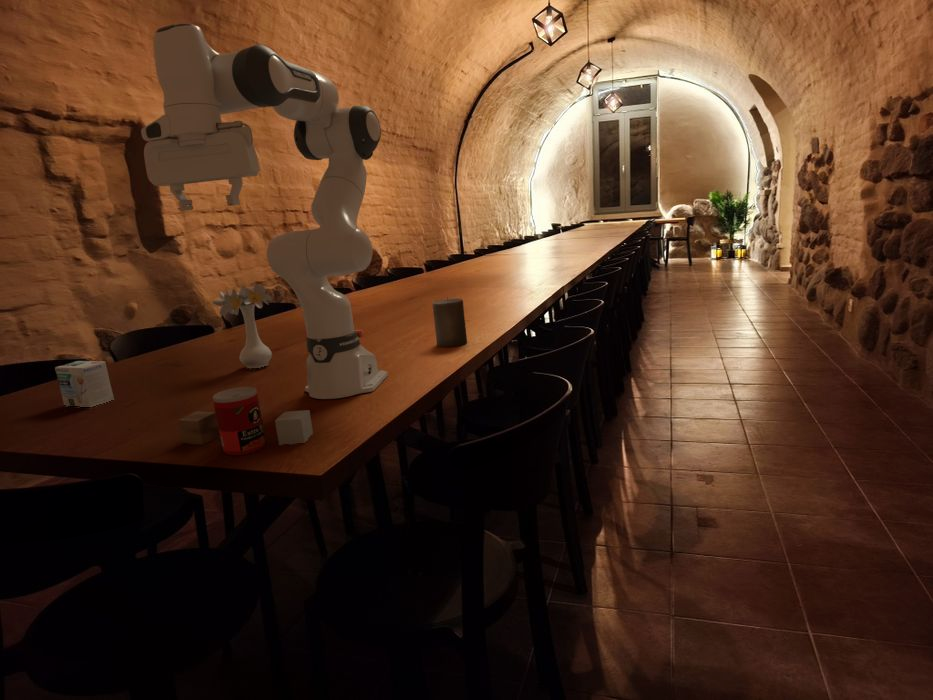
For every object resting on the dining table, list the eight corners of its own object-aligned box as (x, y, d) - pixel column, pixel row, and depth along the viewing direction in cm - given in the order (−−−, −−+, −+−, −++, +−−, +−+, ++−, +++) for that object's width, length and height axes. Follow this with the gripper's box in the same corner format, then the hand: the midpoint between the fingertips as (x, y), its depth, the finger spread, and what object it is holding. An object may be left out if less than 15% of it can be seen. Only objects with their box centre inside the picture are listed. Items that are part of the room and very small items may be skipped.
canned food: (247, 457, 105) (236, 400, 103) (213, 454, 108) (202, 398, 106) (275, 441, 112) (265, 387, 110) (242, 438, 115) (232, 385, 113)
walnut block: (201, 434, 120) (196, 411, 119) (220, 435, 119) (216, 412, 118) (182, 443, 116) (177, 420, 115) (203, 444, 114) (198, 420, 113)
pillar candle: (472, 343, 182) (468, 295, 179) (445, 348, 177) (440, 300, 174) (457, 339, 190) (453, 293, 187) (431, 344, 185) (426, 298, 182)
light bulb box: (63, 407, 151) (53, 367, 149) (88, 398, 157) (78, 360, 155) (91, 408, 147) (81, 367, 145) (115, 400, 153) (106, 360, 151)
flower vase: (242, 362, 185) (227, 283, 179) (293, 360, 180) (280, 280, 174) (215, 373, 173) (198, 289, 167) (269, 372, 168) (254, 286, 162)
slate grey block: (288, 435, 115) (284, 411, 114) (313, 433, 115) (309, 410, 113) (279, 445, 110) (274, 420, 109) (304, 443, 110) (300, 418, 109)
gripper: (258, 121, 102) (271, 202, 105) (157, 135, 106) (172, 212, 110) (238, 116, 96) (253, 202, 99) (132, 131, 100) (149, 213, 104)
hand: (210, 207), depth 105 cm, fingers open, 8 cm apart
